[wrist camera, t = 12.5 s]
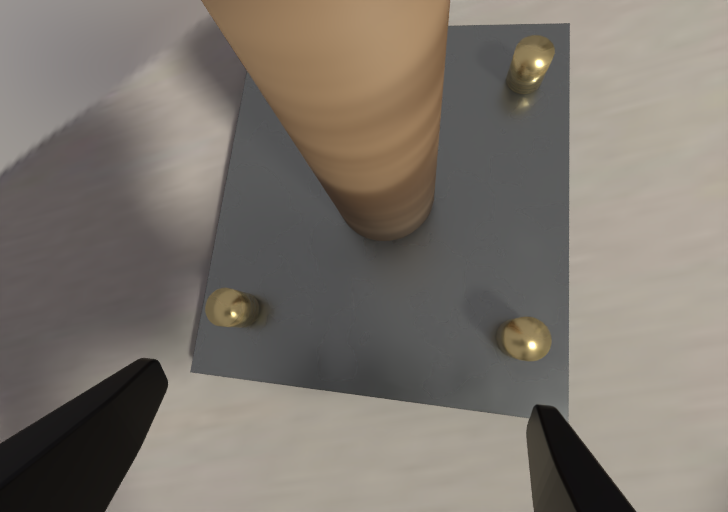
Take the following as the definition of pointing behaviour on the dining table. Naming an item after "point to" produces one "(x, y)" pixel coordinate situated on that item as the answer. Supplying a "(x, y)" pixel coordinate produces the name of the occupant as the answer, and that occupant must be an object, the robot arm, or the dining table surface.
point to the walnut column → (352, 96)
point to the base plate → (410, 249)
